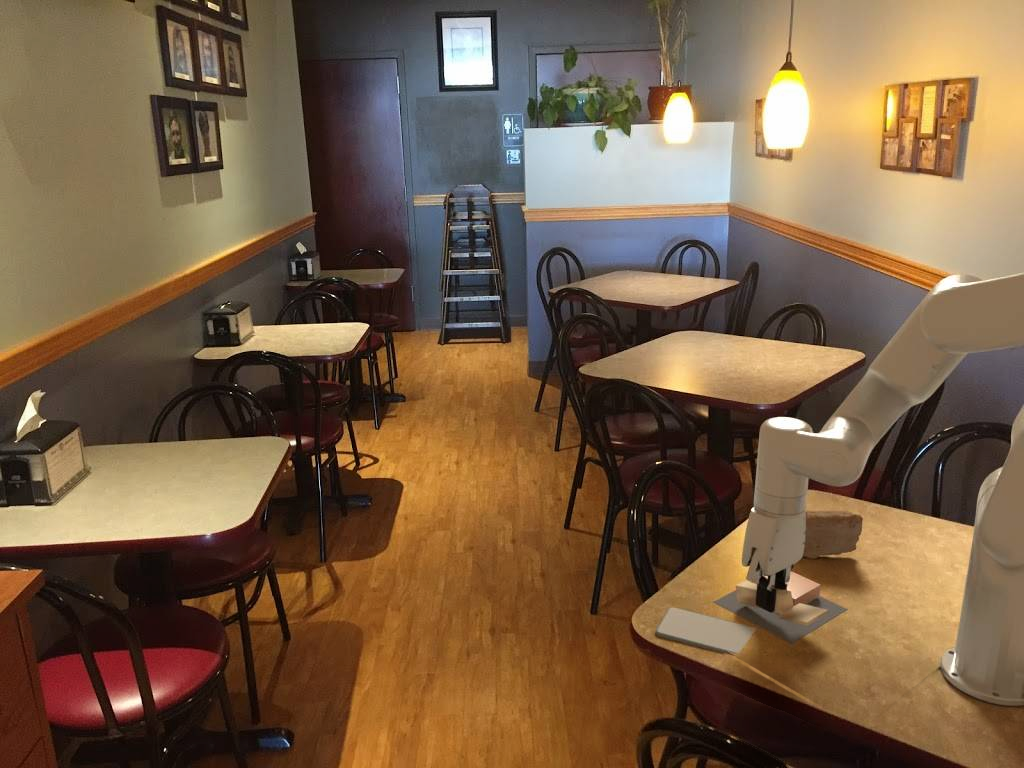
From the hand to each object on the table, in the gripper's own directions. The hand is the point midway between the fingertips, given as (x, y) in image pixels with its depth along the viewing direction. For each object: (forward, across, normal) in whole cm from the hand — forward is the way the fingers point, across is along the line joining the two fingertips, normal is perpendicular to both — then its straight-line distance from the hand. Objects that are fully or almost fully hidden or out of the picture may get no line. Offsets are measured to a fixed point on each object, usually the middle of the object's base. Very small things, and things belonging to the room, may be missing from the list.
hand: (770, 604), depth 132 cm
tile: (+1, -8, +1) cm, 8 cm away
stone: (+3, -22, -9) cm, 24 cm away
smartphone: (+4, +10, -4) cm, 11 cm away
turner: (0, 0, +2) cm, 2 cm away
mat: (+3, -5, -1) cm, 6 cm away
